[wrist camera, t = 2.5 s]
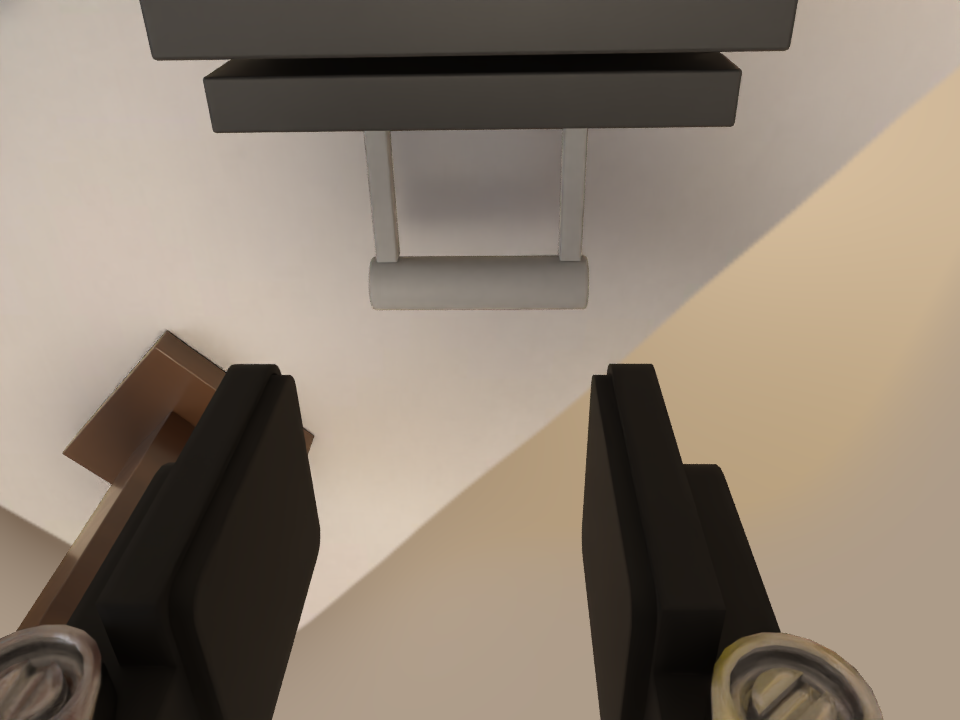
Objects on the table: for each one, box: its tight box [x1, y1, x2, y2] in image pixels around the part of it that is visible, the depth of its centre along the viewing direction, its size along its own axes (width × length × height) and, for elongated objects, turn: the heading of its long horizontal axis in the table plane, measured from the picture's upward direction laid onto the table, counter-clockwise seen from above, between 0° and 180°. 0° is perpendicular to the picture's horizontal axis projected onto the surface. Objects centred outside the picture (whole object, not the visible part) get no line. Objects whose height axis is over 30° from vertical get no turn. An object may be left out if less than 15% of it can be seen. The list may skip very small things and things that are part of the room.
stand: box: [17, 331, 314, 631], centre depth 24 cm, size 7×7×20 cm
